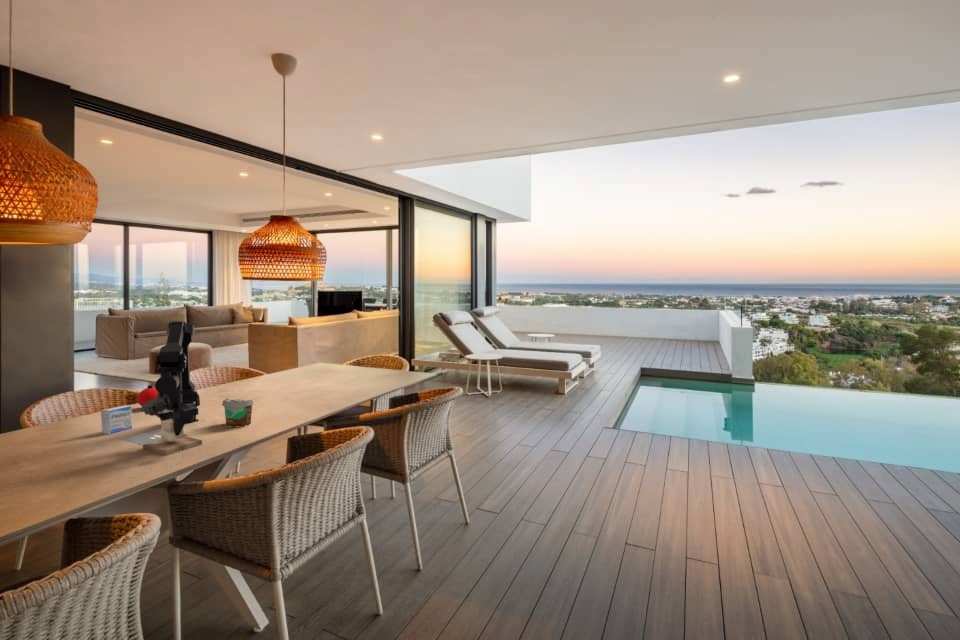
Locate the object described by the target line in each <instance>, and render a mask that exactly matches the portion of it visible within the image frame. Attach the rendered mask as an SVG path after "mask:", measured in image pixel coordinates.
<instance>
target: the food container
mask: <svg viewBox="0 0 960 640" xmlns="http://www.w3.org/2000/svg"><path fill="white" fill-rule="evenodd" d="M221 405H222V406H223V407H224V408H223V409H224V414H225V415H224V416H225V424H226V427H228V426H231V427H230V428H237V427H236V426H243V427H246V426H245V425H247V426H250V425H249V424H251V422H252V411H253V405H255V404H254V401H253V399H248V400H244V399H243V400H242V399H229V397H227V396H226V397H224V399H223V400H222V404H221Z"/></svg>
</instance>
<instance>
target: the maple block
mask: <svg viewBox="0 0 960 640" xmlns="http://www.w3.org/2000/svg"><path fill="white" fill-rule="evenodd" d="M160 426H161V427H160V429H161V439H163V440H167V441H173V440H176V439H180V438H184V434H185V433H184V428H183V429H182V431H181V433H180V435H178V436H175V431H174V424H173V421H172V420H171V419H168V420H164V421H161V420H160Z"/></svg>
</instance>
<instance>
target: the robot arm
mask: <svg viewBox="0 0 960 640" xmlns="http://www.w3.org/2000/svg"><path fill="white" fill-rule="evenodd" d="M165 329H166V331H165V332H166V336H167V339H166V343H165V345H163V346H161V347H160V349H159V351H158V353H157V354H156V358H155V367H154V368H155V369H154V374H160V377H159V378H158V379H157V380H156V381H155V384H154V388H156V390H157V391H158V394H157V398H154V399H152V400H150V401H148V402H146V403H145V404H143V405H142V406H141V408H142V410H143V413H144V415H149V416H152V417H153V416H156V417H157V418H159V420H160V422H161V421H164V420H168V419H171V420H172V421H173V424H174V431H175V436H178V435H180V433H181V431H182V429H183V430H184V427H185V425H188V424H193V423H195V422H199V421H200V420H199V419H197V416H198V415H199V408H198V407H199V406H201V399H200V394H199V393H198V391H196V385H195V384H194V383H193V381H191V373H190V372H191V370H190V369H191V368H190V366H191V365H190V348H189V345H190V344H191V342H192V341H193V338H194V336H195V332H196V330H195V325H194V323H193V324H192V323H191V322H186V321H184V320H177V321H175V320H174V321H173V320H172V321H169V323H167V324H166V327H165Z"/></svg>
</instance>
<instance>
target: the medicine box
mask: <svg viewBox="0 0 960 640" xmlns="http://www.w3.org/2000/svg"><path fill="white" fill-rule="evenodd" d="M132 413H133V412H132V406H131V405H126V404H125V405H120V406H114V407H110V408H104V409H102V410H100V415H101V416H100V418H101V433H102V434H105V435H106V434H107V435H113V434H116V433H117V434H118V433H121V432H124V431H127V430H131V429H133V419H132V417H133V415H132Z"/></svg>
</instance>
